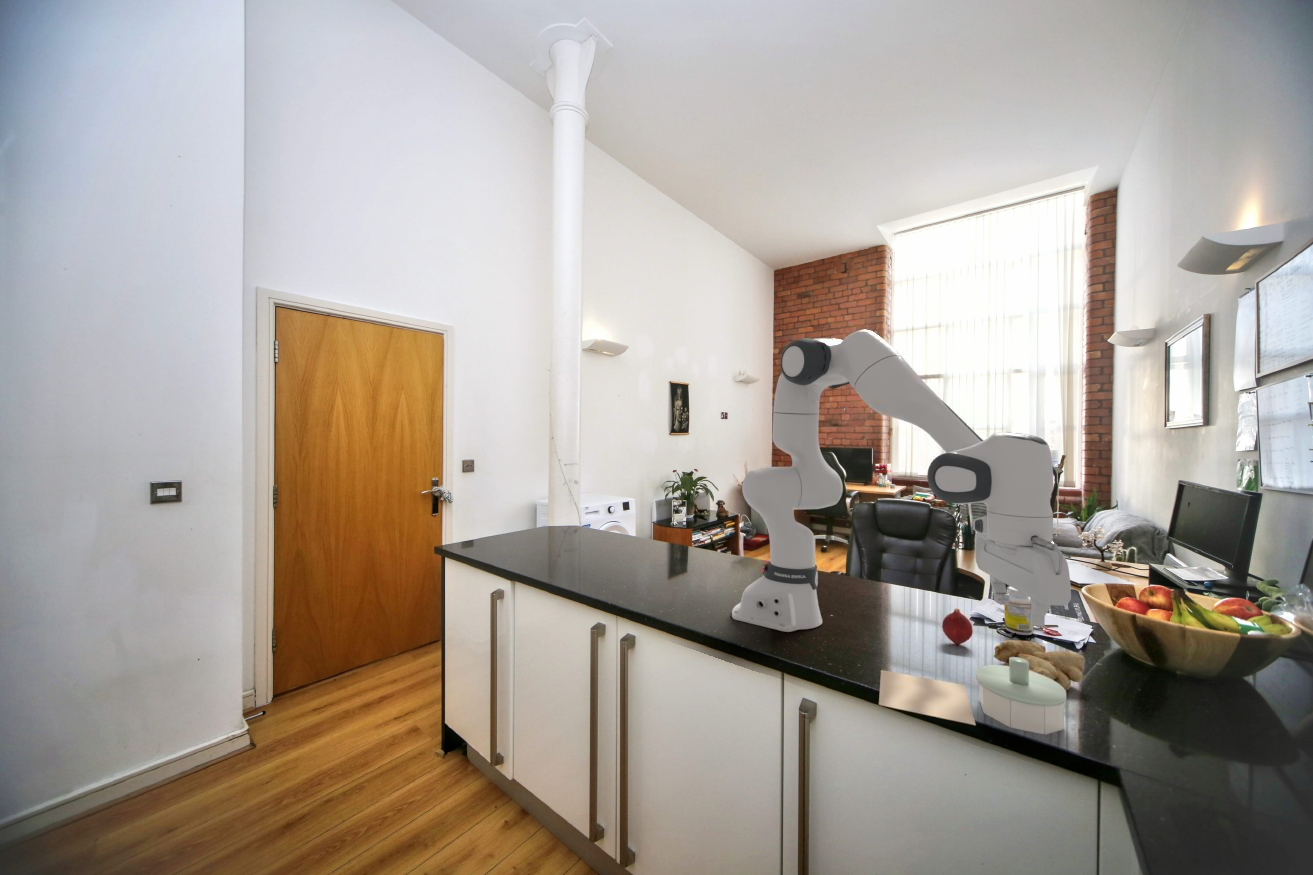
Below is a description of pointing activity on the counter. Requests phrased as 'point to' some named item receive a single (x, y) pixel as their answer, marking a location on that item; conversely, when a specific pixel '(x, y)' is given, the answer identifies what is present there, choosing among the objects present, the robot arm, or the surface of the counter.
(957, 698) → the mat
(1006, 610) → the supplement bottle
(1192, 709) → the counter surface
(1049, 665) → the ginger root
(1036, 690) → the lid
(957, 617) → the onion
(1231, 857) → the counter surface
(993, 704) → the bowl
